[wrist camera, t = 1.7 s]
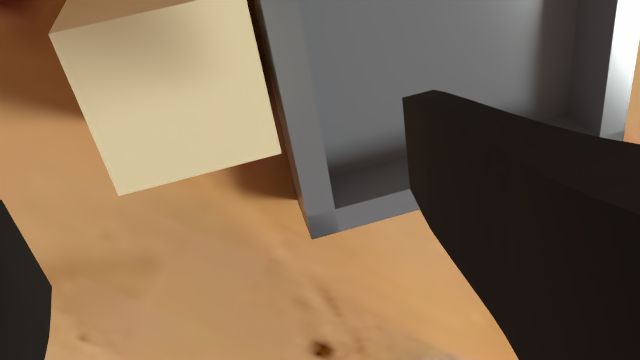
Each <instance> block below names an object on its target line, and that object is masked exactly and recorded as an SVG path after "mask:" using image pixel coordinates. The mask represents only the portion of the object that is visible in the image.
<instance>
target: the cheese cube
mask: <svg viewBox="0 0 640 360" xmlns="http://www.w3.org/2000/svg"><path fill="white" fill-rule="evenodd" d="M48 35H49V37H50V40H51V42H52V44H53V46H54V49H55V51H56V53H57V56H58V58H59V60H60V62H61V65H62V67H63V69H64V72H65V74H66V76H67V79H68V81H69V83H70V85H71V88H72V90H73V92H74V95H75V97H76V99H77V101H78V104H79V106H80V108H81V111H82V113H83V115H84V118H85V120H86V122H87V124H88V127H89V129H90V131H91V134H92V136H93V138H94V140H95V143H96V145H97V147H98V150H99V152H100V154H101V156H102V159H103V161H104V163H105V166H106V168H107V170H108V173H109V175H110V177H111V179H112V182H113V184H114V186H115V189H116V191H117V193H118V195H119V196H121V195H124V194H128V193H132V192H136V191H140V190H144V189H147V188H151V187H155V186H159V185H163V184H167V183H170V182H174V181H178V180H182V179H186V178H190V177H193V176H197V175H201V174H205V173H209V172H213V171H216V170H220V169H224V168H228V167H232V166H236V165H239V164H243V163H247V162H251V161H255V160H259V159H262V158H266V157H270V156H274V155H278V154H282V153H281V149H280V144H279V140H278V135H277V131H276V127H275V122H274V118H273V114H272V109H271V105H270V100H269V96H268V92H267V87H266V83H265V79H264V74H263V70H262V65H261V61H260V57H259V52H258V48H257V44H256V39H255V35H254V31H253V26H252V22H251V17H250V13H249V9H248V4H247V0H66V2H65V4H64V6H63V8H62V10H61V11H60V13H59V15H58V17H57V19H56V21H55V22H54V24H53V26H52V28H51V30H50V32H49V33H48Z"/></svg>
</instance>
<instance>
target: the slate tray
mask: <svg viewBox="0 0 640 360" xmlns="http://www.w3.org/2000/svg"><path fill="white" fill-rule="evenodd" d="M253 2H254V7H255V11H256V16H257V20H258V25H259V29H260V34H261V38H262V43H263V47H264V52H265V56H266V61H267V65H268V70H269V74H270V79H271V83H272V88H273V92H274V97H275V101H276V106H277V110H278V115H279V119H280V124H281V128H282V133H283V137H284V142H285V146H286V151H287V155H288V160H289V164H290V169H291V173H292V178H293V182H294V187H295V191H296V196H297V200H298V203H299V206H300V209H301V212H302V214H303V217H304V220H305V222H306V225H307V228H308V231H309V233H310V236H311V239H316V238H319V237H323V236H327V235H330V234H334V233H337V232H341V231H344V230H348V229H352V228H355V227H359V226H362V225H366V224H369V223H373V222H377V221H380V220H384V219H387V218H391V217H395V216H398V215H402V214H405V213H409V212H412V211H416V210H420V208H419V206H418V204H417V202H416V200H415V198H414V196H413V194H412V192H411V190H410V185H409V173H408V161H407V149H406V138H405V126H404V114H403V102H402V97H406V96H410V95H414V94H418V93H422V92H426V91H430V90H438V91H443V92H447V93H450V94H454V95H457V96H460V97H464V98H467V99H470V100H473V101H476V102H479V103H482V104H485V105H488V106H491V107H494V108H497V109H500V110H503V111H506V112H509V113H513V114H516V115H519V116H522V117H525V118H529V119H532V120H535V121H539V122H542V123H546V124H549V125H553V126H557V127H561V128H565V129H568V130H572V131H576V132H580V133H584V134H589V135H593V136H598V137H602V138H607V139H613V140H618V141H623V137H624V131H625V125H626V119H627V112H628V106H629V100H630V93H631V87H632V81H633V75H634V68H635V62H636V56H637V49H638V43H639V37H640V0H253Z"/></svg>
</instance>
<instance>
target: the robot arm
mask: <svg viewBox="0 0 640 360" xmlns="http://www.w3.org/2000/svg"><path fill="white" fill-rule="evenodd" d="M402 102H403V114H404V126H405V138H406V149H407V161H408V173H409V185H410V190H411V192H412V194H413V196H414V198H415V200H416V202H417V204H418V206H419V208H420V210H421V212H422V214H423V216H424V218H425V220H426V221H427V223H428V225H429V227H430V229H431V230H432V232H433V233H434V235H435V236H436V238H437V239H438V240H439V242H440V243H441V245H442V246H443V248H444V249H445V250H446V252H447V253H448V255H449V256H450V257H451V259H452V260H453V262H454V263H455V264H456V266H457V267H458V269H459V270H460V271H461V273H462V274H463V276H464V277H465V278H466V280H467V281H468V282H469V284H470V285H471V287H472V288H473V289H474V291H475V292H476V294H477V295H478V296H479V298H480V299H481V301H482V302H483V303H484V305H485V306H486V307H487V309H488V310H489V312H490V313H491V314H492V316H493V317H494V319H495V321H496V322H497V324H498V325H499V327H500V328H501V330H502V331H503V333H504V334H505V336H506V338H507V339H508V341H509V343H510V345H511V347H512V348H513V350H514V352H515V354H516V355H517V357H518V359H519V360H640V144H634V143H629V142H624V141H618V140H613V139H607V138H602V137H598V136H593V135H589V134H584V133H580V132H576V131H572V130H568V129H565V128H561V127H557V126H553V125H549V124H546V123H542V122H539V121H535V120H532V119H529V118H525V117H522V116H519V115H516V114H513V113H509V112H506V111H503V110H500V109H497V108H494V107H491V106H488V105H485V104H482V103H479V102H476V101H473V100H470V99H467V98H464V97H460V96H457V95H454V94H450V93H447V92H443V91H438V90H430V91H426V92H422V93H418V94H414V95H410V96H406V97H402ZM51 294H52V286H51V284H50V283H49V281H48V279H47V277H46V276H45V274H44V272H43V271H42V269H41V267H40V265H39V264H38V262H37V260H36V259H35V257H34V255H33V253H32V252H31V250H30V248H29V246H28V245H27V243H26V241H25V240H24V238H23V236H22V234H21V233H20V231H19V229H18V227H17V226H16V224H15V222H14V221H13V219H12V217H11V215H10V214H9V212H8V210H7V208H6V207H5V205H4V203H3V202H2V200H0V360H44V359H45V354H46V350H47V344H48V339H49V331H50V318H51Z"/></svg>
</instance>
